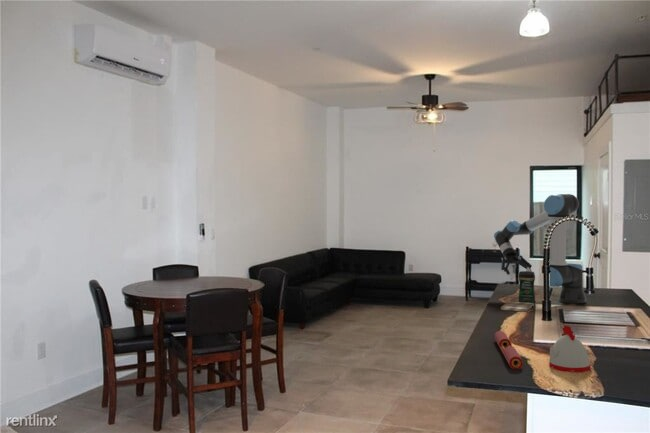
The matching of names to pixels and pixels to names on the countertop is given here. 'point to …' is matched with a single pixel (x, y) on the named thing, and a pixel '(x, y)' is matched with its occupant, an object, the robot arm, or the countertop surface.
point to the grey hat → (569, 353)
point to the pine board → (517, 306)
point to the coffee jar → (526, 286)
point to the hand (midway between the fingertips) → (521, 277)
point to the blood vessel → (508, 350)
